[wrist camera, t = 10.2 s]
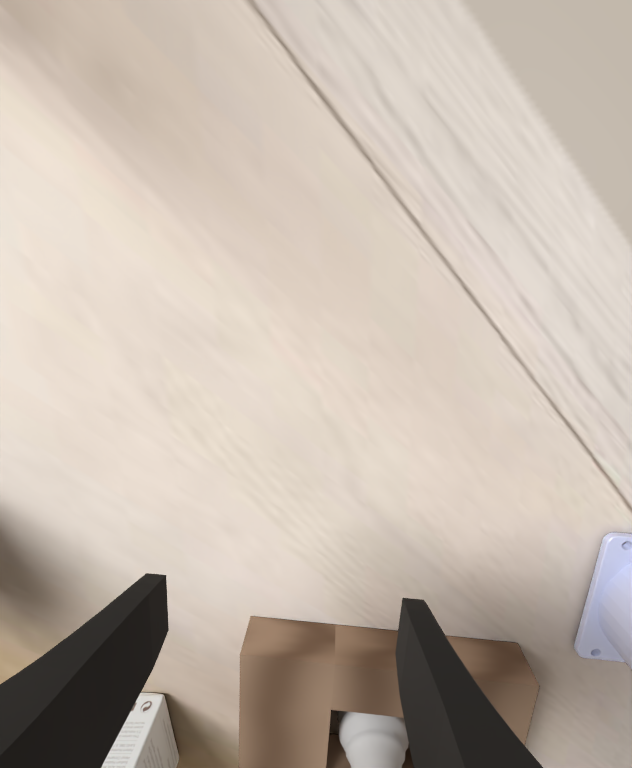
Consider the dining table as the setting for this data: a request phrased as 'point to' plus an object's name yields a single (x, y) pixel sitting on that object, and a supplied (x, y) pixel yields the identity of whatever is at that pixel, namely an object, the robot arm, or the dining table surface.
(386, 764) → the rook chess piece
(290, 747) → the socket board
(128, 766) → the skincare box
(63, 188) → the dining table surface
